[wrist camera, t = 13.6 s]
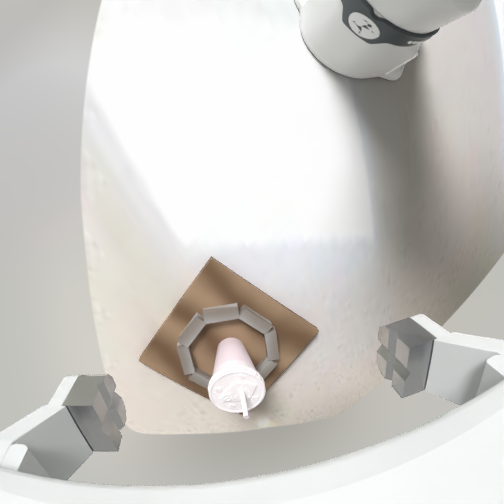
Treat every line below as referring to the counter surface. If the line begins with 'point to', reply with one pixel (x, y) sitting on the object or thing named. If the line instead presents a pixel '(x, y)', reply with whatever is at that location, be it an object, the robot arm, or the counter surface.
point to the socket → (225, 330)
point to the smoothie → (235, 379)
